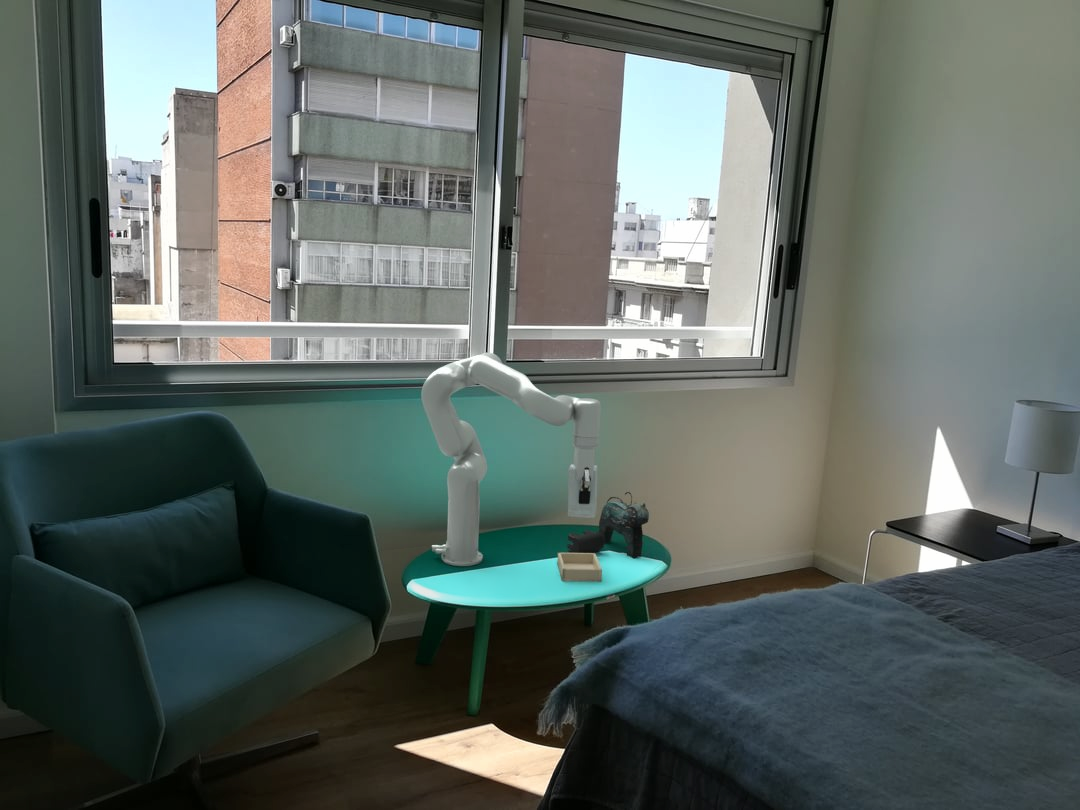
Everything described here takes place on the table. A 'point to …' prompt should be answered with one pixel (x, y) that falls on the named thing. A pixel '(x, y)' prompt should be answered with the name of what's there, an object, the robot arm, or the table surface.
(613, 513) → the ceramic cat
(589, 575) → the holder
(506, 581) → the table surface
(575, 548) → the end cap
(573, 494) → the skincare box
